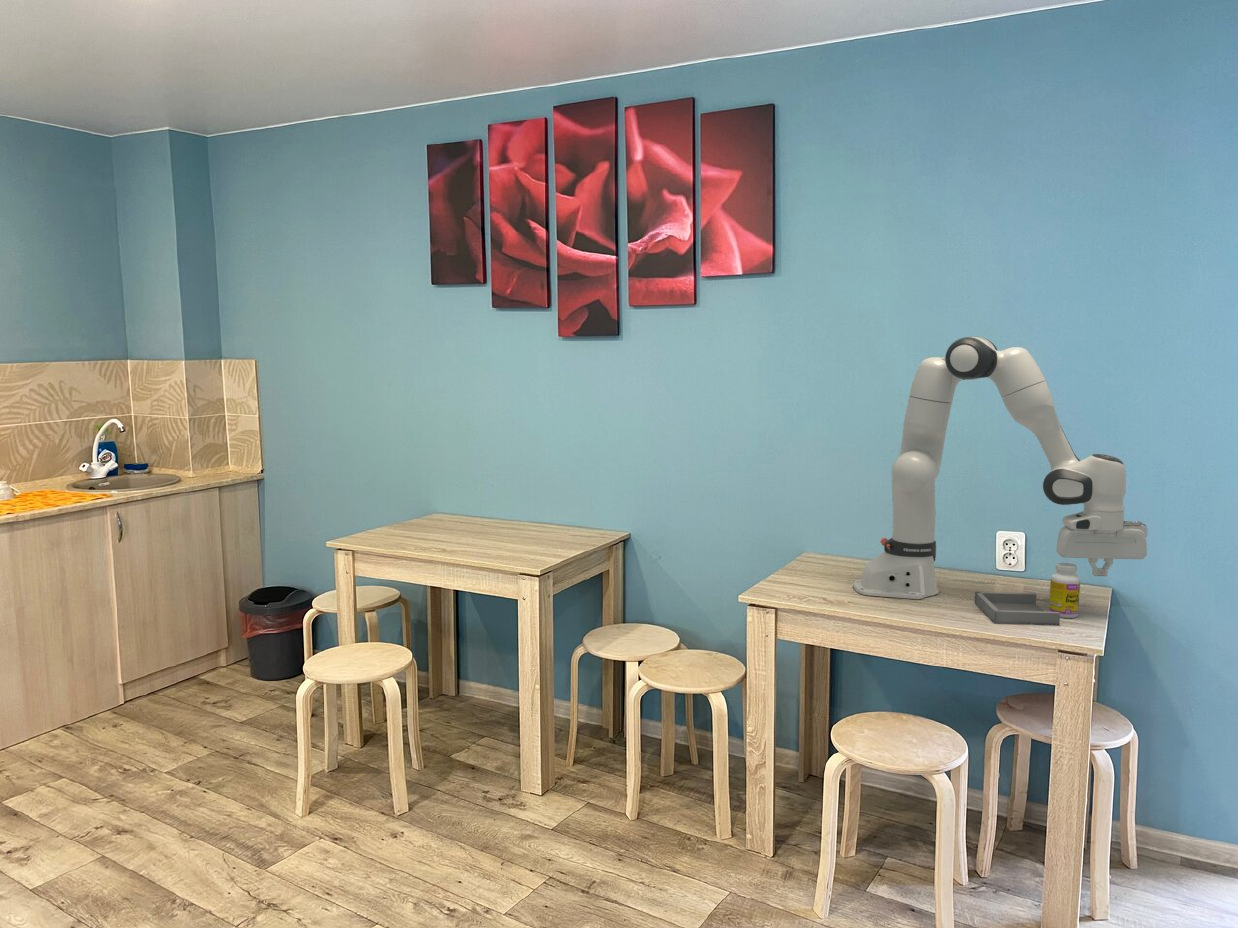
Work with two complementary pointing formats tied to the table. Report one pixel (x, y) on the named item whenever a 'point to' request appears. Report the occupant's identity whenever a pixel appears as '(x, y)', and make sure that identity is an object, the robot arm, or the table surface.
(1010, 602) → the tray
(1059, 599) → the supplement bottle
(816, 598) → the table surface
